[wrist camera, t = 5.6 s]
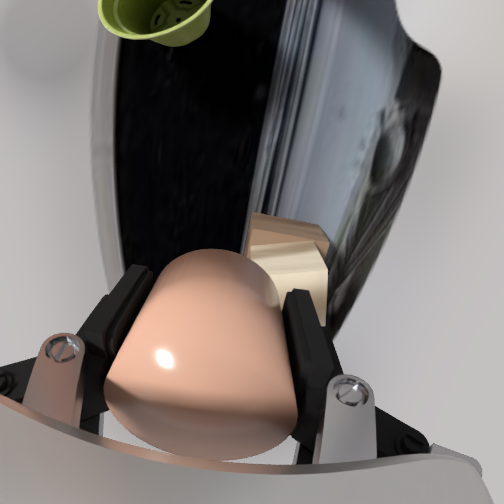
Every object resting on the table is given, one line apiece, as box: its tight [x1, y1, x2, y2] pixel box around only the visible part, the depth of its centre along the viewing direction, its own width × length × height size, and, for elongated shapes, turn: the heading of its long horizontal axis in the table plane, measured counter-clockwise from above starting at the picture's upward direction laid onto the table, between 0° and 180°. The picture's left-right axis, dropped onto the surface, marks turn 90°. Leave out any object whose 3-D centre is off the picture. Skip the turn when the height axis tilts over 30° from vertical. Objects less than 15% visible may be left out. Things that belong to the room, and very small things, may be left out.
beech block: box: [251, 241, 328, 326], centre depth 24 cm, size 6×6×6 cm
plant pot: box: [98, 0, 213, 47], centre depth 17 cm, size 9×9×9 cm
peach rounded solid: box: [104, 249, 298, 461], centre depth 8 cm, size 5×5×5 cm
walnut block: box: [243, 212, 330, 261], centre depth 29 cm, size 7×7×5 cm
